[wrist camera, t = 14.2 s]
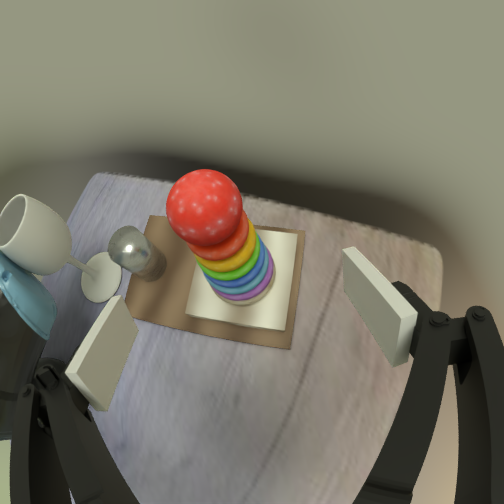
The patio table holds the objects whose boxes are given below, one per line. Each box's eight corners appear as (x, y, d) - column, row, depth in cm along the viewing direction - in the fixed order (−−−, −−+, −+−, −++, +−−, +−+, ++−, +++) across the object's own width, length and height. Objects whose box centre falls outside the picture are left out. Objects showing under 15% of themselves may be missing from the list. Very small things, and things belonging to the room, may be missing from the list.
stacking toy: (220, 238, 35) (169, 132, 18) (282, 250, 33) (280, 141, 16) (202, 297, 32) (119, 229, 15) (266, 313, 31) (247, 257, 13)
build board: (126, 315, 37) (110, 310, 33) (153, 219, 42) (141, 205, 38) (289, 349, 33) (290, 348, 29) (304, 235, 39) (306, 220, 35)
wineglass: (102, 313, 37) (0, 272, 18) (74, 284, 40) (-16, 234, 20) (131, 269, 40) (42, 201, 20) (100, 243, 42) (20, 176, 22)
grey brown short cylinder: (133, 278, 37) (103, 260, 30) (142, 247, 39) (115, 224, 32) (161, 284, 37) (134, 266, 29) (170, 251, 38) (146, 227, 31)
